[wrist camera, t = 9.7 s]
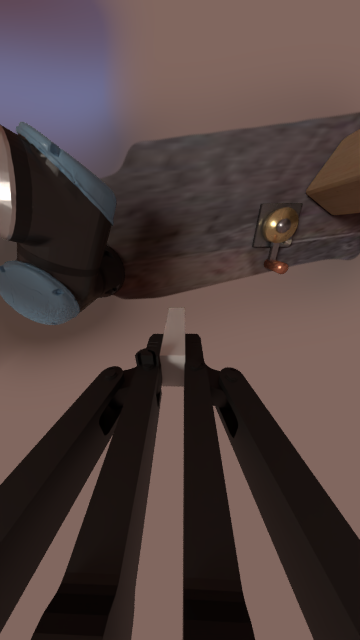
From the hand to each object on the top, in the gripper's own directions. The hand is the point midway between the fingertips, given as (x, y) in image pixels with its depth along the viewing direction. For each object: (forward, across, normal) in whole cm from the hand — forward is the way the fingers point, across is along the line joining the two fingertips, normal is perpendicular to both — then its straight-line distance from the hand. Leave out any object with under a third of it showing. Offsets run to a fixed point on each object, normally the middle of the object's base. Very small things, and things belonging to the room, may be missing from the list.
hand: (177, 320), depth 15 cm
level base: (+32, +23, +8) cm, 41 cm away
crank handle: (+31, +23, +5) cm, 39 cm away
